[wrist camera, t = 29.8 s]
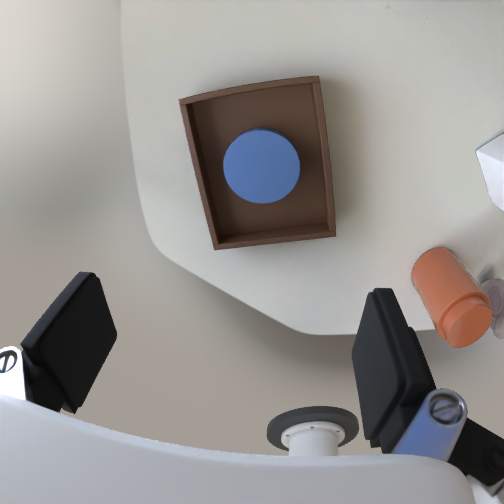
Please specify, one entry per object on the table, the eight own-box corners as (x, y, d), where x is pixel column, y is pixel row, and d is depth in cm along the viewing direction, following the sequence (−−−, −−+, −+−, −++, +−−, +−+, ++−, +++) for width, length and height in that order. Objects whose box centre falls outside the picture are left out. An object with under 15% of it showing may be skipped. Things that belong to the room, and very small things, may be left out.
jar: (452, 288, 35) (486, 343, 26) (408, 295, 36) (436, 357, 27) (459, 243, 32) (503, 296, 23) (413, 250, 33) (449, 308, 24)
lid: (225, 127, 28) (221, 129, 26) (301, 128, 27) (302, 131, 25) (227, 196, 31) (224, 203, 29) (297, 198, 30) (298, 205, 29)
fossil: (482, 262, 33) (520, 309, 24) (499, 264, 32) (536, 309, 24) (467, 298, 35) (497, 348, 27) (484, 298, 35) (515, 346, 27)
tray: (332, 224, 32) (336, 236, 30) (219, 238, 34) (214, 250, 32) (315, 76, 25) (318, 75, 23) (187, 98, 27) (178, 99, 25)
